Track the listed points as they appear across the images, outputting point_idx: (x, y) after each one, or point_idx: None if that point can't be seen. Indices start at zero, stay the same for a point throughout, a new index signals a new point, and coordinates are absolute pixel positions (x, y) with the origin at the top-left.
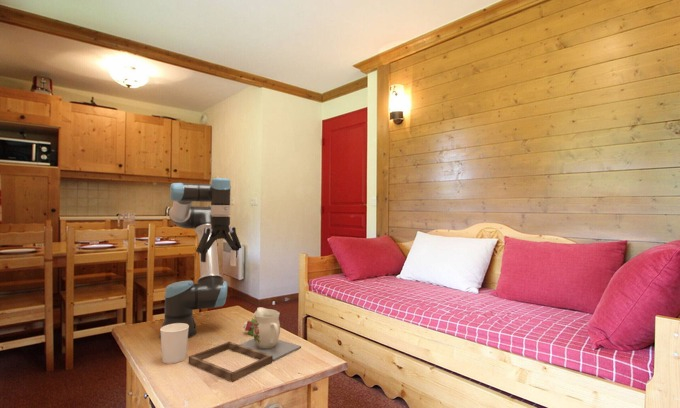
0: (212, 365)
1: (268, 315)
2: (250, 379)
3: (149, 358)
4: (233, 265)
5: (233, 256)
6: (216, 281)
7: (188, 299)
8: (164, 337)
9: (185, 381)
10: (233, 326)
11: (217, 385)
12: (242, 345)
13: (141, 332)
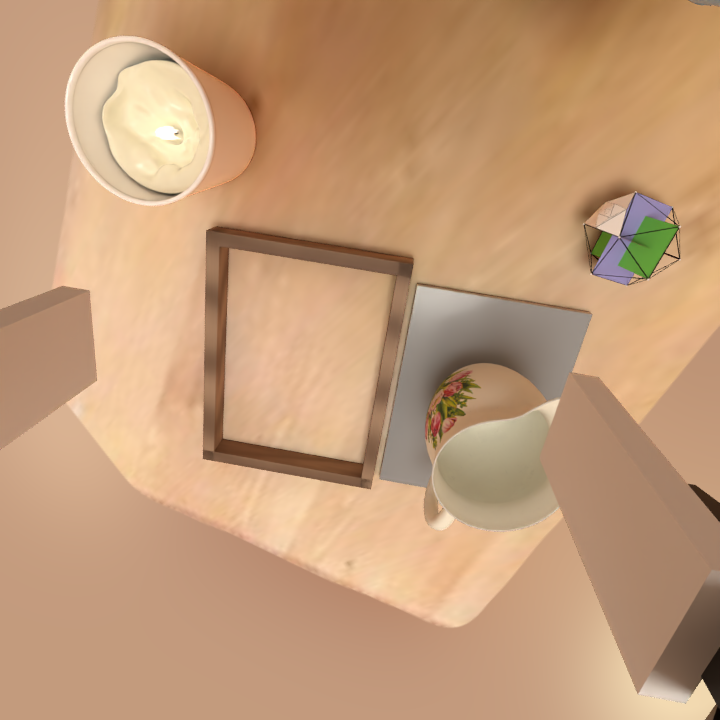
0: (207, 368)
1: None
2: (250, 478)
3: (151, 12)
4: (548, 445)
5: (597, 547)
6: None
7: None
8: (91, 133)
9: (132, 326)
10: (713, 32)
11: (174, 423)
12: (439, 310)
13: None
